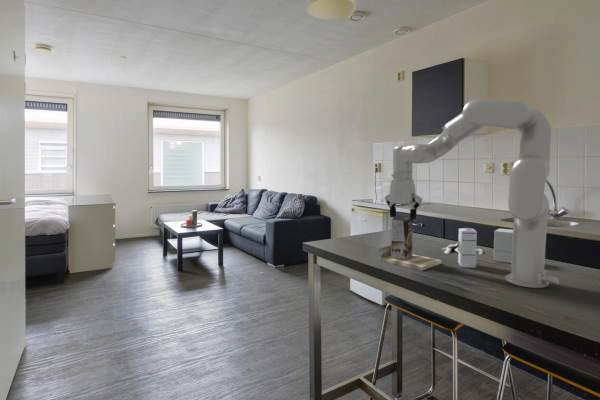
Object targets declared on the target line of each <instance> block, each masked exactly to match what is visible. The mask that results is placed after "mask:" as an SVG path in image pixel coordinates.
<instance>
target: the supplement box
mask: <svg viewBox="0 0 600 400" xmlns="http://www.w3.org/2000/svg"><path fill="white" fill-rule="evenodd" d="M493 233H494V234H493V235H494V237H493V261H494V262H499V263H501V262H502V263H508V264H511V260H512V240H513V229H507V228H497V229H496V230H494V231H493Z"/></svg>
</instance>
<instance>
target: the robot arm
mask: <svg viewBox="0 0 600 400" xmlns="http://www.w3.org/2000/svg"><path fill="white" fill-rule="evenodd" d="M486 126H487V127H494V128H495V127H497V128H503V129H510V130H516V131H518V132H519V133H520V141H519V153H518V154H519V156H518V159H517V160H516V161H515V162H514V163H513V164H512V165H511V169H510V173H509V187H508V201H507V203H508V205H507V206H508V211H509V213H510V214H511V215H512V217H513V227H512V230H513V240H512V260H511V263H510V273H508V274H506V275H505V276H504V279H505V280H506V282H508V283H509V284H512V285H515V286H518V287H525V288H529V289H530V288H531V289H532V288H533V289H543V288H547V287H549V285H550V283H551V284H554V285H559V282H560V279H559V277H557V276H554V275H549V274H548V270H546V269H545V261H546V245H547V243H546V242H547V231H548V230H547V229H548V219H549V211H550V201H549V199H548V196H547V195H546V194H545V187H546V180H547V179H548V178H549V175H550V172H551V171H550V170H551V169H550V162H551V161H550V160H551V141H552V140H551V139H552V138H551V137H552V130H551V124H550V121H549V119H548V118H547V117H546V115H545V114H544V113H543V112H542V111H540V110H538V109H536V108H534V107H533V106H531V105H528V104H526V103H523V102H520V101H517V100H507V99H506V100H505V99H489V98H480V97H479V98H474V99H473V98H472V99H471V100H469V101H468V102H466V104H465V105H464V106H463V108H462V111H461V113H460V114H458V115H456V116H455V117H453V118H452V119H450V120H449V121H448V122H446V123H445V124H444V127H443V130H442V131H441V133H440V134H438V136H436V137H435V138H434V139H432V140H431V141H430V142H428V143H425V144H424V143H423V144H422V143H417V144H411V145H398V146H394V147H393V149H392V151H393V153H392V156H393V157H392V158H393V160H392V162H393V164H392V165H393V168H392V169H393V173H391V174H390V176H391V177H392V179H391V180H390V185H389V194H387V195H386V196H384V199H385V203H386V205H387V206H388V208H389V215H390V216H389V217H390V218H394V217H395V218H396V217H397V207H396V205H409V207H410V211H409V213H410V214H409V218H410V219H413V220H415V219H417V209H418V208H419V207H420V206H421V204H422V201H423V197H421V196H419V195H418V194H417V192H416V184H415V180H414V179H413V164H429V163H433V162H434V161H436V160H438V159H439V158H441V157H442V156H444V155H445V154H447V153H448V152H450V151H451V150H452V149H453V148H455V147H456V146H457V145H459V143H460V142H462V141H463V140H465V139H467V138H468V137H469V136H471V135H473V134H474V133H476V132H478V131H480V130H481V129H483V128H484V127H486Z"/></svg>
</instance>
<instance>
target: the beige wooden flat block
mask: <svg viewBox="0 0 600 400" xmlns="http://www.w3.org/2000/svg"><path fill="white" fill-rule="evenodd" d="M378 251H379V252H378V260H379V261H381V262H384V263H388V264H392V265H395V266H396V265H397V266H400V267H406V268H410V269H413V270H418V271H424V270H428V269H430V268H433V267H436V266H439V265H441V264H442V260H441V259H437V258H433V257H427V256H423V255H418V254H414V253H412V256H410V257H409V258H407V259H406V260H403V259H396V258H391V244H387V245H383V246H379V248H378Z"/></svg>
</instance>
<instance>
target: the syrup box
mask: <svg viewBox="0 0 600 400" xmlns="http://www.w3.org/2000/svg"><path fill="white" fill-rule="evenodd" d="M477 235H478V233H477V230H476V229H474V228H471V227H463V228H458V240H457V241H458V242H457V243H458V253H457V264H458V265H459V267H460V268H471V269H473V268H474V269H475V268H477V253H476V249H477V246H478V245H477V241H478V239H477V237H478V236H477Z"/></svg>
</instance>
